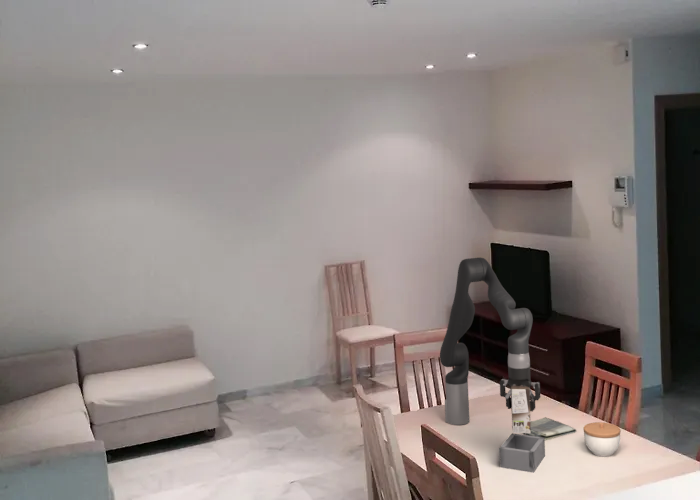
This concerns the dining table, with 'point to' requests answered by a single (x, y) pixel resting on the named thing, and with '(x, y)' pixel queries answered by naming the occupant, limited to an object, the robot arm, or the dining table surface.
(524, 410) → the coffee box
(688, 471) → the dining table surface
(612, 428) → the lidded bowl
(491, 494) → the dining table surface
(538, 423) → the dish towel
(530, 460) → the grey open box
